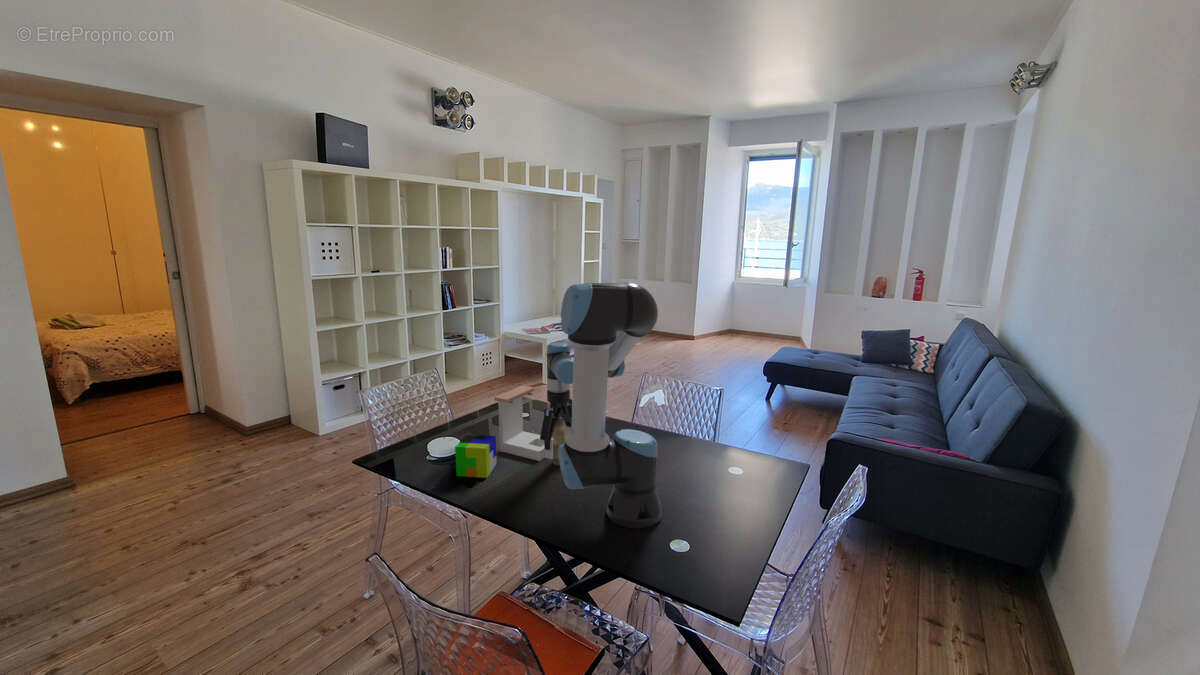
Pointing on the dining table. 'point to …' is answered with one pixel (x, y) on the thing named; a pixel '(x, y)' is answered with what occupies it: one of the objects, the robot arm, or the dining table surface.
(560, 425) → the dowel
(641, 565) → the dining table surface
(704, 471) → the dining table surface
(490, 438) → the puzzle toy
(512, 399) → the wood-topped pedestal
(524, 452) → the socket board
